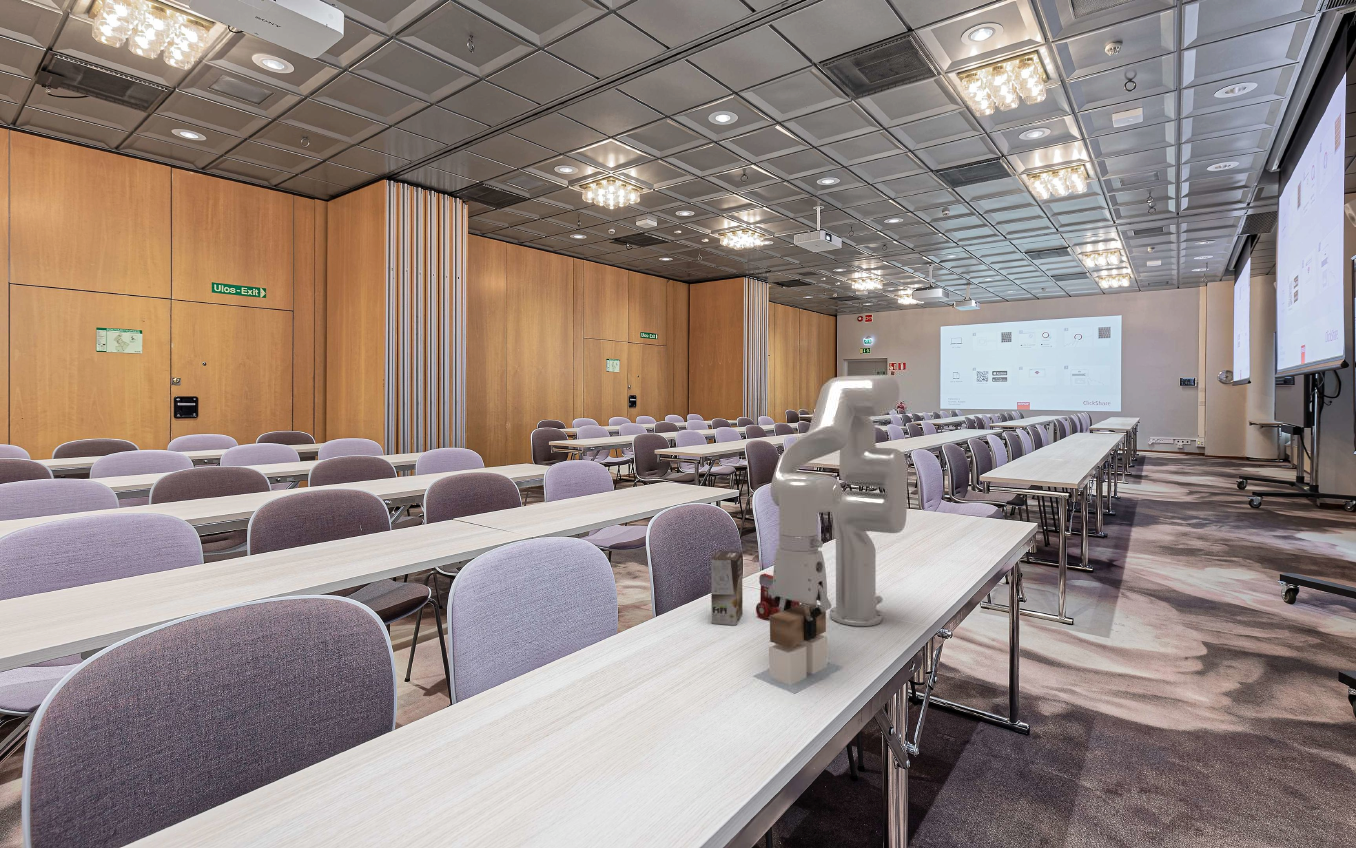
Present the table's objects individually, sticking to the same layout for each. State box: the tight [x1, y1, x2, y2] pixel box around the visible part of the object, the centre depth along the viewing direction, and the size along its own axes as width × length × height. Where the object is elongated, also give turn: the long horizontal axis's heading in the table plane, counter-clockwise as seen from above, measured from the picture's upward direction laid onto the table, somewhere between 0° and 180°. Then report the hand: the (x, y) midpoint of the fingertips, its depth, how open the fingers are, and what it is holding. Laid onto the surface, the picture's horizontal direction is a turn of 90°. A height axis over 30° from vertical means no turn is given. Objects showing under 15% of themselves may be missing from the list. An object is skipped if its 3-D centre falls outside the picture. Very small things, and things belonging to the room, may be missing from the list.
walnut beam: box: [769, 603, 827, 648], centre depth 120 cm, size 12×4×5 cm, turn 133°
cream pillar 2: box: [800, 634, 828, 674], centre depth 123 cm, size 5×5×6 cm
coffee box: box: [710, 550, 744, 626], centre depth 154 cm, size 9×6×16 cm
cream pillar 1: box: [768, 643, 806, 686], centre depth 118 cm, size 5×5×6 cm
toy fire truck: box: [755, 573, 801, 620], centre depth 153 cm, size 7×12×10 cm, turn 38°
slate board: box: [752, 661, 844, 695], centre depth 121 cm, size 16×10×1 cm, turn 133°
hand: (798, 634), depth 121 cm, fingers closed on walnut beam, 4 cm apart
